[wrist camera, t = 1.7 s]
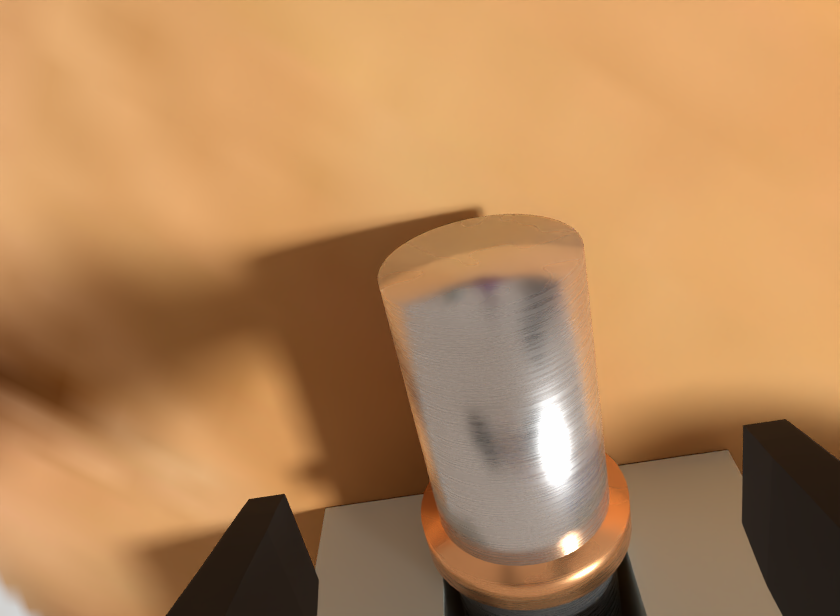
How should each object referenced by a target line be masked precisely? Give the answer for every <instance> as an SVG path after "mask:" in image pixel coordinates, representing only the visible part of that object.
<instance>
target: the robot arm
mask: <svg viewBox="0 0 840 616" xmlns="http://www.w3.org/2000/svg"><path fill="white" fill-rule="evenodd" d="M742 525H743V527H744V530H745V533H746V535H747V538H748V540H749V543H750V546H751V548H752V551H753V553H754V556H755V558H756V561H757V563H758V566H759V568H760V571H761V573H762V575H763V578H764V580H765V583H766V585H767V587H768V589H769V591H770V593H771V595H772V597H773V599H774V601H775V602H776V604H777V606H778V608H779V610H780V612H781V614H782V616H840V460H838V459H837V458H836V457H834V456H833V455H832V454H830V453H829V452H828V451H826V450H825V449H824V448H823V447H821V446H820V445H819V444H817V443H816V442H815V441H813V440H812V439H811V438H810V437H808V436H807V435H806V434H804V433H803V432H802V431H800V430H799V429H798V428H796V427H795V426H794V425H792V424H791V423H790V422H788V421H787V420H786V419H784V420H777V421H770V422H764V423H757V424H750V425H743V476H742ZM318 589H319V579H318V576H317V574H316V571H315V569H314V566H313V564H312V561H311V559H310V556H309V554H308V551H307V549H306V546H305V544H304V541H303V539H302V536H301V534H300V531H299V528H298V526H297V523H296V521H295V518H294V516H293V513H292V511H291V508H290V506H289V503H288V501H287V498H286V496H285V494H281V495H274V496H267V497H260V498H254V499H249V500H248V501H247V503H246V504H245V505H244V507H243V508H242V509H241V511H240V512H239V514H238V515H237V516H236V518H235V519H234V521H233V522H232V523H231V525H230V526H229V528H228V529H227V531H226V532H225V533H224V535H223V536H222V538H221V539H220V541H219V542H218V544H217V545H216V546H215V548H214V549H213V551H212V552H211V554H210V555H209V556H208V558H207V559H206V561H205V562H204V564H203V565H202V566H201V568H200V569H199V571H198V572H197V574H196V575H195V576H194V578H193V579H192V580H191V582H190V583H189V585H188V586H187V587H186V589H185V590H184V591H183V593H182V594H181V596H180V597H179V598H178V600H177V601H176V602H175V604H174V605H173V607H172V608H171V609H170V611H169V612H168V613H167V615H166V616H317V610H318Z"/></svg>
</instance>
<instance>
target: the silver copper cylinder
mask: <svg viewBox="0 0 840 616" xmlns="http://www.w3.org/2000/svg"><path fill="white" fill-rule="evenodd" d="M378 285H379V289H380V293H381V296H382V300H383V304H384V308H385V312H386V316H387V319H388V323H389V327H390V331H391V335H392V338H393V342H394V346H395V350H396V354H397V357H398V361H399V365H400V369H401V373H402V376H403V380H404V384H405V388H406V392H407V395H408V399H409V403H410V407H411V411H412V414H413V418H414V422H415V426H416V430H417V433H418V437H419V441H420V445H421V449H422V453H423V456H424V460H425V464H426V468H427V472H428V475H429V479H430V481H429V483H428V485H427V487H426V489H425V492H424V495H423V499H422V504H421V521H422V525H423V529H424V533H425V536H426V540H427V544H428V547H429V551H430V554H431V557H432V560H433V562H434V564H435V566H436V568H437V569H438V571H439V572H440V574H441V575H442V577H443V578H444V579H445V580H446V581H447V582H448V583H449V584H450V585H451V586H452V587H454V588H455V589H456V590H457V591H459V593H460V597H461V601H462V605H463V609H464V612H465V616H622V611H621V601H620V591H619V582H618V572H617V568H618V566H619V565H620V564H621V562H622V561H623V559H624V557H625V555H626V553H627V550H628V547H629V544H630V540H631V532H632V524H631V511H630V499H629V490H628V486H627V482H626V480H625V478H624V475H623V473H622V471H621V470H620V468H619V467H618V465H617V464H616V463H615V462H614V461H613V460H612V458H611V457H610V456H609V455H607V454H606V453H605V447H604V437H603V427H602V418H601V408H600V398H599V389H598V379H597V369H596V360H595V350H594V340H593V331H592V321H591V311H590V302H589V292H588V282H587V273H586V263H585V254H584V244H583V241H582V238H581V237H580V235H579V234H578V233H577V232H576V231H575V230H574V229H573V228H572V227H570V226H568V225H567V224H565V223H562V222H560V221H557V220H554V219H551V218H546V217H542V216H535V215H523V214H504V215H491V216H483V217H476V218H471V219H466V220H461V221H457V222H454V223H450V224H447V225H444V226H441V227H438V228H435V229H432V230H430V231H427V232H425V233H423V234H421V235H418V236H417V237H415V238H413V239H411V240H409V241H407V242H406V243H404V244H403V245H401V246H400V247H398V248H397V249H396V250H395V251H393V252H392V253H391V254H390V255H389V256H388V257H387V258H386V260H385V261H384V262H383V263H382V265H381V267H380V269H379V272H378Z"/></svg>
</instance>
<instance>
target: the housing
mask: <svg viewBox="0 0 840 616" xmlns="http://www.w3.org/2000/svg"><path fill="white" fill-rule="evenodd" d="M618 467H619V468H620V470H621V471H622V473H623V475H624V478H625V480H626V482H627V486H628V490H629V499H630V511H631V524H632V532H631V540H630V544H629V547H628V550H627V553H626V555H625V557H624V559H623V561H622V562H621V564H620V565H619V566H618V568H617V572H618V582H619V591H620V601H621V611H622V616H782V614H781V612H780V610H779V608H778V606H777V604H776V602H775V601H774V599H773V597H772V595H771V593H770V591H769V589H768V587H767V585H766V583H765V580H764V578H763V575H762V573H761V571H760V568H759V566H758V563H757V561H756V558H755V556H754V553H753V551H752V548H751V546H750V543H749V540H748V538H747V535H746V533H745V530H744V527H743V525H742V474H741V473H740V471H739V469H738V467H737V465H736V463H735V462H734V460H733V458H732V456H731V454H730V452H729V451H728V450H723V451H717V452H710V453H703V454H696V455H689V456H682V457H675V458H668V459H661V460H655V461H648V462H641V463H634V464H627V465H620V466H618ZM423 495H424V494H420V495H413V496H406V497H399V498H393V499H386V500H379V501H372V502H365V503H358V504H351V505H344V506H337V507H331V508H325V514H324V520H323V526H322V532H321V538H320V544H319V549H318V555H317V561H316V567H315V571H316V574H317V576H318V579H319V589H318V610H317V616H465V612H464V609H463V605H462V601H461V597H460V593H459V591H457V590H456V589H455V588H454V587H452V586H451V585H450V584H449V583H448V582H447V581H446V580H445V579H444V578H443V577H442V575H441V574H440V572H439V571H438V569H437V568H436V566H435V564H434V562H433V560H432V557H431V554H430V551H429V547H428V544H427V540H426V536H425V533H424V529H423V525H422V521H421V504H422V499H423Z"/></svg>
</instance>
